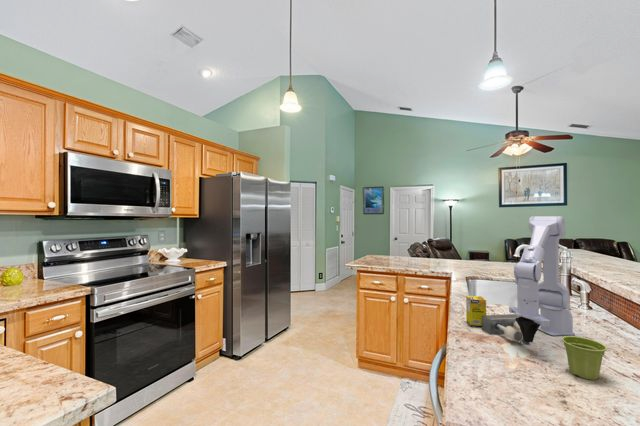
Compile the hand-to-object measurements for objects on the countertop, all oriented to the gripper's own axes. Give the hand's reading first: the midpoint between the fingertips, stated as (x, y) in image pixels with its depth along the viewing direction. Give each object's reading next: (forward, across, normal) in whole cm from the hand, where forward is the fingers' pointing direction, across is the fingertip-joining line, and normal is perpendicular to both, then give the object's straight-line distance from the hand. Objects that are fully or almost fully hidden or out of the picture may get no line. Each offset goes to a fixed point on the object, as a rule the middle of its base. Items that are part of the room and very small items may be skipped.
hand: (528, 341), depth 98 cm
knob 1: (+2, -10, 0) cm, 10 cm away
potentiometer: (+3, -6, +4) cm, 8 cm away
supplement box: (+3, -24, -2) cm, 24 cm away
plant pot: (+3, +15, +4) cm, 16 cm away
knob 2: (+2, -15, +8) cm, 17 cm away
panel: (+3, -16, +4) cm, 17 cm away
